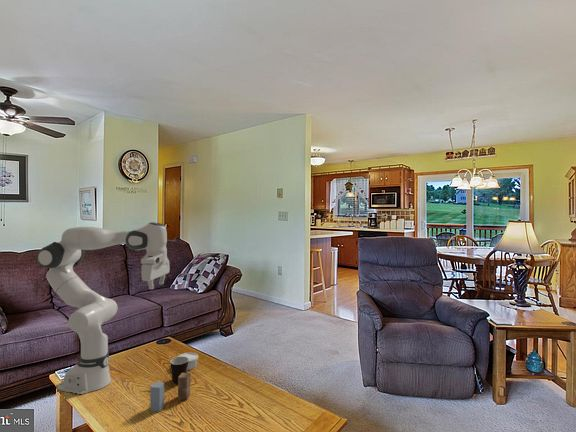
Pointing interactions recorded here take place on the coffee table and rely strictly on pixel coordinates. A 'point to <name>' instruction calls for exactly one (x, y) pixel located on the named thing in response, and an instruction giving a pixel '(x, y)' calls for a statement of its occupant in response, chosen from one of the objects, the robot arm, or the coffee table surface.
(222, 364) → the coffee table surface
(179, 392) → the walnut block
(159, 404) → the slate block
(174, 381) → the coffee mug
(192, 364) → the ramekin
